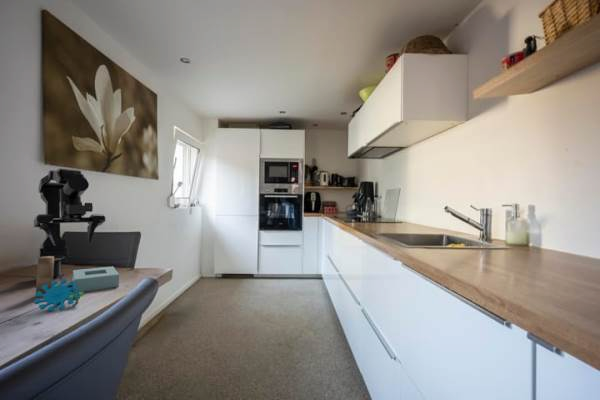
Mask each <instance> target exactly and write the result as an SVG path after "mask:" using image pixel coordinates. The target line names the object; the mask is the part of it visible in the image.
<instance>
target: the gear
mask: <svg viewBox="0 0 600 400" xmlns="http://www.w3.org/2000/svg"><path fill="white" fill-rule="evenodd" d="M67 282H68V279H66V278H62V279H61V281H60V283H59V284H58V280H56V279H55V280H54V279H53V281H51V284H52V287H51V288H50V289H47V288H48V286H47V285H43V286H42V290H45V291H46V293H45V294H41V292H40V291H38V292H37V293H36V292H35V297H36V298H35V299H34V305H38V307H39V309H40V310H41V311H42V310H45V308H46V307H48V308H47V311H48V312H54V311H55V309H56V307H57V306H58V307H57V308H58V310H64V309H65V308H66V306H65V304H64V303H65V301H67V304H68V305H69V306H71V305H73V304H74V302H75V304H79V300H80V299H81V298H82V297H83V296H84V291H82V292H75V293H74V291H73V290H75V291H78V290H79V287H78V286H75V287H73V285H75V283H74V281H72V280H71V281H69V282H68V283H67ZM72 291H73V292H72ZM41 298H43V299H41ZM39 304H40V305H39Z"/></svg>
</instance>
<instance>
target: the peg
mask: <svg viewBox="0 0 600 400" xmlns="http://www.w3.org/2000/svg"><path fill="white" fill-rule="evenodd" d="M53 270H54V256H45V257H39V258H38V263H37V266H36V278H37V279H36V286H35V294H36V293H37V292H38V291H40V292H41V294H45V293H46V291H45V290H42V286H43V285H47V286H48V288H47V289H50V288H51V287H52V284H51V281H54V278H53Z"/></svg>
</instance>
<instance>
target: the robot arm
mask: <svg viewBox="0 0 600 400" xmlns="http://www.w3.org/2000/svg"><path fill="white" fill-rule="evenodd" d="M52 181H55V182H52ZM89 183H90V182H88V179H87V178H86V177H85V175H84V173H82V171H81V170H80V169H70V168H69V169H67V168H57V169H56V170H54V169H53V170H52V169H51V170H49V171H48V173H47V175H46V176H44V177H41V179H40V180H39V184H38V193H40V198H41V200H42V201H43V202H44V204H45V213H43V214H37V215H36V216H35V218H34V219H33V228H39V229H38V230H43V231H44V233H45V238H44V240H43V241H42V242H41V244H40V248H38V251H37V254H36V263H37V264H38V258H39V257H45V256H54V270H53V279H58V278H59V277H61V276H62V277H63V276H64V275H65V274H64V273H63V272H61V262H66V261H68V254H69V250H70V249H68V247H67V246H66V240H65V239H63V237H61V224H78V223H79V224H80V223H81V224H83V223H85V224H88V225H87V226H86V227H87V228H86V229H87V231H86V232H87V244H91V242H92V238H93V236H94V233H95V230H96V228H98V227H99V226H102V225H103V224H104V223H105V222H106V220H107V219H106V216H105V214H102V213H101V214H97V213H94V214H91V215H90V216H88V217H85V215H87V212H89V213H92V212H93V209H94V208H93V206H94V205H93V203H92V202H85V203H84V205H83V202H82V195H83V194H84V193H85V192H86V191H87V190H88V189H89V186H90V184H89ZM36 280H37V277H36Z"/></svg>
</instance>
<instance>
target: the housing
mask: <svg viewBox="0 0 600 400" xmlns="http://www.w3.org/2000/svg"><path fill="white" fill-rule="evenodd" d="M71 281H74V283H75V285H73V286H72V287H75V286H78V287H79V290H78V291H75V290H72V291H73V293H79V292H89V291H95V290H102V289H104V290H105V289H109V288H116V287H119V285H120V273H119V272H118V271H117V270H116V268H115V267H114V265H113V266H104V267H92V268H83V269H74V270H72V279H71Z"/></svg>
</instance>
